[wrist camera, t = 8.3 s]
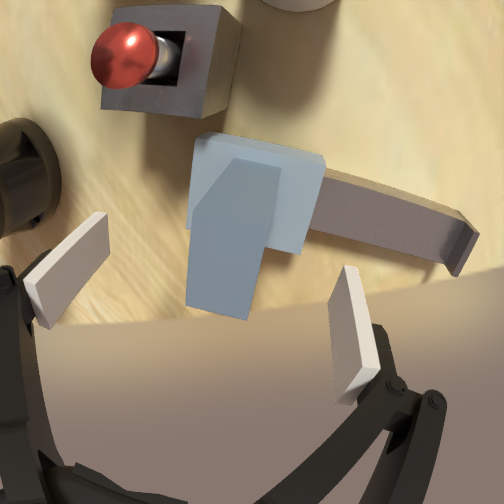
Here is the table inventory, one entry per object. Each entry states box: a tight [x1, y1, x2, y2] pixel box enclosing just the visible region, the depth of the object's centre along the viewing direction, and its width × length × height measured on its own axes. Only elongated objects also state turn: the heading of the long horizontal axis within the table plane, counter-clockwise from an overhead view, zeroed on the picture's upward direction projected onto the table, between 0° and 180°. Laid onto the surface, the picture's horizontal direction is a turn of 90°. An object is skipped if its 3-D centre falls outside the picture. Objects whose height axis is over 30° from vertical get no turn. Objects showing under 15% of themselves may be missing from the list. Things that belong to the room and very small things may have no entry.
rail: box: [309, 168, 480, 277], centre depth 26 cm, size 26×5×5 cm, turn 80°
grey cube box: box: [101, 4, 243, 119], centre depth 20 cm, size 8×8×8 cm
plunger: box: [91, 22, 184, 89], centre depth 17 cm, size 4×4×9 cm
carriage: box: [185, 131, 326, 321], centre depth 22 cm, size 10×8×14 cm
